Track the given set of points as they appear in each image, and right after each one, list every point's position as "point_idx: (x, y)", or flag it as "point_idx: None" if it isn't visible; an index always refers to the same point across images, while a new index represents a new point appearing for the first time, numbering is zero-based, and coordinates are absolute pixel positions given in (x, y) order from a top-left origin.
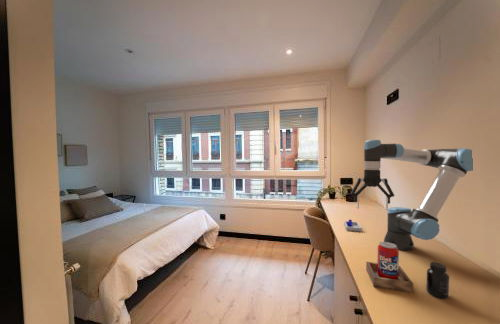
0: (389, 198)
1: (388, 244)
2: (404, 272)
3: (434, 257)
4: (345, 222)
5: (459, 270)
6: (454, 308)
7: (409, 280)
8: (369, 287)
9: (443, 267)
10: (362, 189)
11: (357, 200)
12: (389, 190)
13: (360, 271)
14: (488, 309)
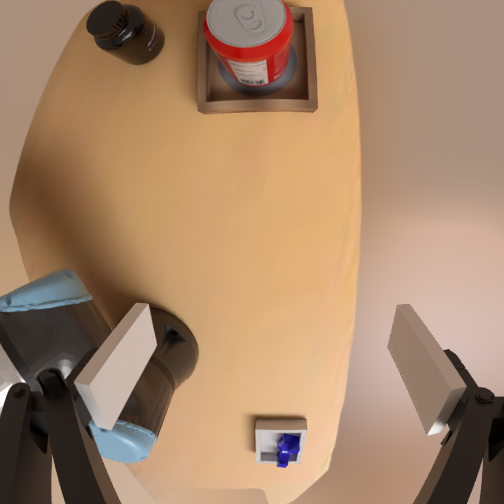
0: (68, 383)
1: (242, 16)
2: (199, 65)
3: (80, 276)
4: (299, 455)
5: (49, 209)
6: (137, 6)
7: (202, 22)
8: (321, 15)
9: (97, 8)
10: (445, 493)
11: (444, 354)
12: (13, 449)
13: (335, 96)
14: (75, 39)
